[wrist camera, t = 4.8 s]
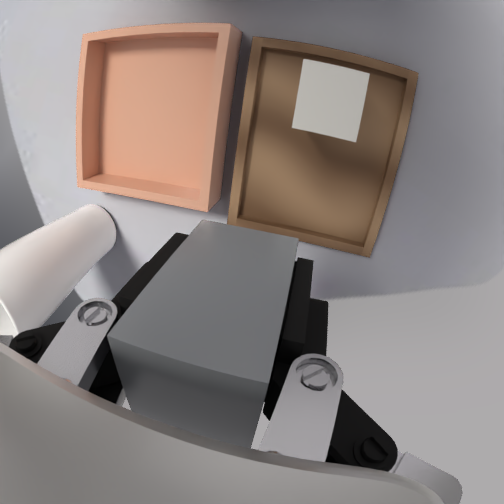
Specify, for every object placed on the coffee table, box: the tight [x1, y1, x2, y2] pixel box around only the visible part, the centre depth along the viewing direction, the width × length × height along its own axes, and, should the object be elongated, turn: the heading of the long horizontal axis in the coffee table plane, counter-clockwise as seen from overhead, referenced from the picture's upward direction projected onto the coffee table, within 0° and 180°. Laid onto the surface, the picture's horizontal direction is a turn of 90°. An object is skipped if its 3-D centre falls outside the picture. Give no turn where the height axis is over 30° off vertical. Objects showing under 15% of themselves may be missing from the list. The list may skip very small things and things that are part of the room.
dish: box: [76, 23, 242, 212], centre depth 21 cm, size 13×12×3 cm
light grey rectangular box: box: [292, 59, 370, 142], centre depth 17 cm, size 4×3×6 cm
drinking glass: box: [0, 204, 116, 337], centre depth 23 cm, size 7×7×15 cm
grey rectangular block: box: [107, 220, 299, 448], centre depth 9 cm, size 4×3×6 cm
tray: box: [227, 36, 418, 258], centre depth 21 cm, size 14×11×1 cm
